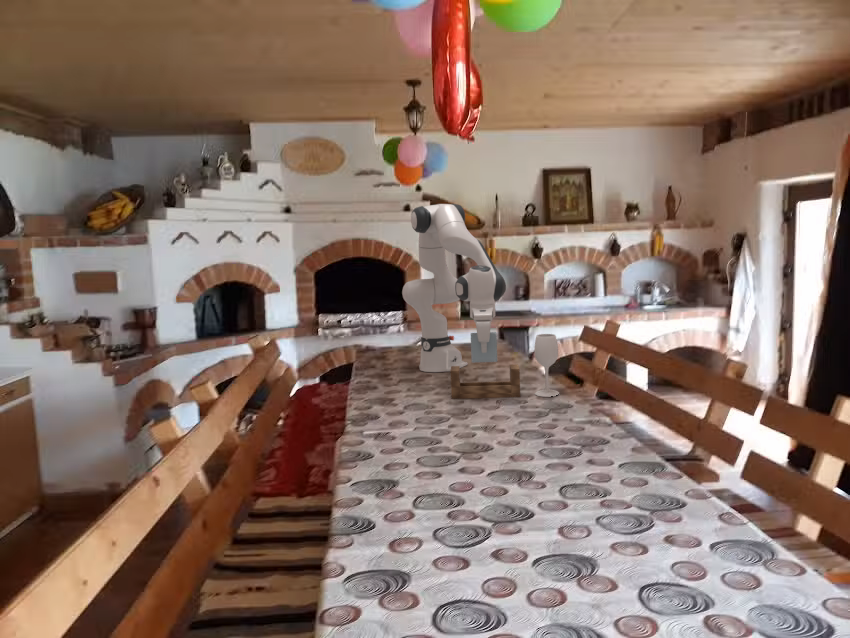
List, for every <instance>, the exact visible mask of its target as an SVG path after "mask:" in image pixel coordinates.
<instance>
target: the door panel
mask: <svg viewBox="0 0 850 638" xmlns="http://www.w3.org/2000/svg"><path fill="white" fill-rule="evenodd" d="M497 340H498V339H497V332H496V331H490V339H489V342H487V352H486V353H482V349H481V342H479V341H478V336H477V332H470V350H471V351H470V354H471V364H474V363H497V362H498V343H497Z"/></svg>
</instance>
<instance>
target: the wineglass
mask: <svg viewBox="0 0 850 638" xmlns="http://www.w3.org/2000/svg"><path fill="white" fill-rule="evenodd" d="M557 339H558V338H557V336H556V334H552V333H541V334H540V333H539V334H537V335H536V336H535V340H534V358H535V359H536V361H537V363H538V364H540V366H542V367H543V368H544V372H545V374H544V375H545V384H544V385H545V386H544V389H540V390H537V391H535V392H534V395H535V396H537V397H544V398H552V397H551V396H553V397H557V396H556V395H558V394H559V393H560V392H559V391H557V390H554V389H551V388H550V385H549V384H550V383H549V370H550V369H549V368H550V367H551V366H553V365H554V364H555V363H556V362H557V360H558V357H559V345H558V340H557ZM559 395H560V394H559ZM559 395H558V396H559Z"/></svg>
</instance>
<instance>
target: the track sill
mask: <svg viewBox="0 0 850 638" xmlns="http://www.w3.org/2000/svg"><path fill="white" fill-rule="evenodd" d="M460 369H461V368H460V366H451V371H449V372H450V390H451V394H450V395H451V400H455V399H457V400H459V399H463V400H464V399H496V398H499V399H500V398H501V399H502V398H521V376H520V373H521V372H520V371H521V370H520V366H519V364H518V363H515V364H509V380H507V381H505V380H504V381H501V380H500V381H498V380H497V381H474V382H473V381H469V382H468V381H467V382H461V370H460Z"/></svg>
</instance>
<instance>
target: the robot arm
mask: <svg viewBox="0 0 850 638" xmlns="http://www.w3.org/2000/svg"><path fill="white" fill-rule="evenodd" d="M410 223H411V227H412V229H413V230H414V232H416V233H418V263H419V266H420V267H421V268H422V269H423V270H425V271H427V272H430V273H432V274H433V277H432V278H421V279H419V278H418V279H417V278H416V279H412V280H409V281H407V282H406V283H404V285H403V287H402V291H401V294H402V298H403V300H404V301H405V302H406V304H408V305H409V306H410V307H412V309H414V310H415V312H416V313H417V315H418V318H419V320H420V327H421V337H420V345H421V349H420V364H419V365H418V368H419V370H420V371H421V372H425V373H442V372H444V373H445V372H450V371H451V366H460V369H461V368H464V367H466V366H468V362H467V361H464V360H463V358H462V353H461V350H459V349H458V348H456V346H454V345H453V344H452V342H451V341H454V338H455V336H454V335H448V334H449V333H448V332H449V331H448V319H447V317H446V316H445V315H444V314H442V313H441V312H439V311H436V310H434V309H433V305H443V304H451V303H455V302H459V301H460V300H461V302H469V318H470V319H473V323H474V324H475V327H476V329H475V330H476V333H477V336H478V341H479V342H481V349H482V353H486V352H487V342H489V339H490V332H491V326H492V322H493V319H494V318H495V317H496V301H498V300H500V299H501V298H502V297H503V296H504V294H505V292H506V290H507V284H506V280H505V278H504V276H502V274H501V273H500V272H499V271H498V269H497V267H496V265H495V263H494V262H493V260H492V259H491V256H490V255H489V254H488V252H487V250H486V248H485V247H484V245H483V243H482V242H481V241H480V240H479V239H477V238H476V237H475V236H473V234H472V233H470V231H469V230H468V229H467V226H466V224H465V223H466V212H465V210H464V208H463V206H462V205H461V204H459V203H458V204H457V203H451V204H450V203H437V204H431V205H425V206H423V205H421V206H418V207H415V208H414V209H412V211H411V216H410ZM446 251H447V252H449V253H452V254H455V255H460V256H462V257H463V256H464V257H467V258H468V259H469V258H470V259H471V260H472V261H474V262H475V263H476V265H474V266H471V267H470V268H469V270H468V272H467V273H466V274H464V275H460V276H459V277H458V278H457V277H455V276H454V275H453V274H452V272H451V271H450V269H449V267H448V264H447V260H446V259H447V258H446V257H447V256H446Z"/></svg>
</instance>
